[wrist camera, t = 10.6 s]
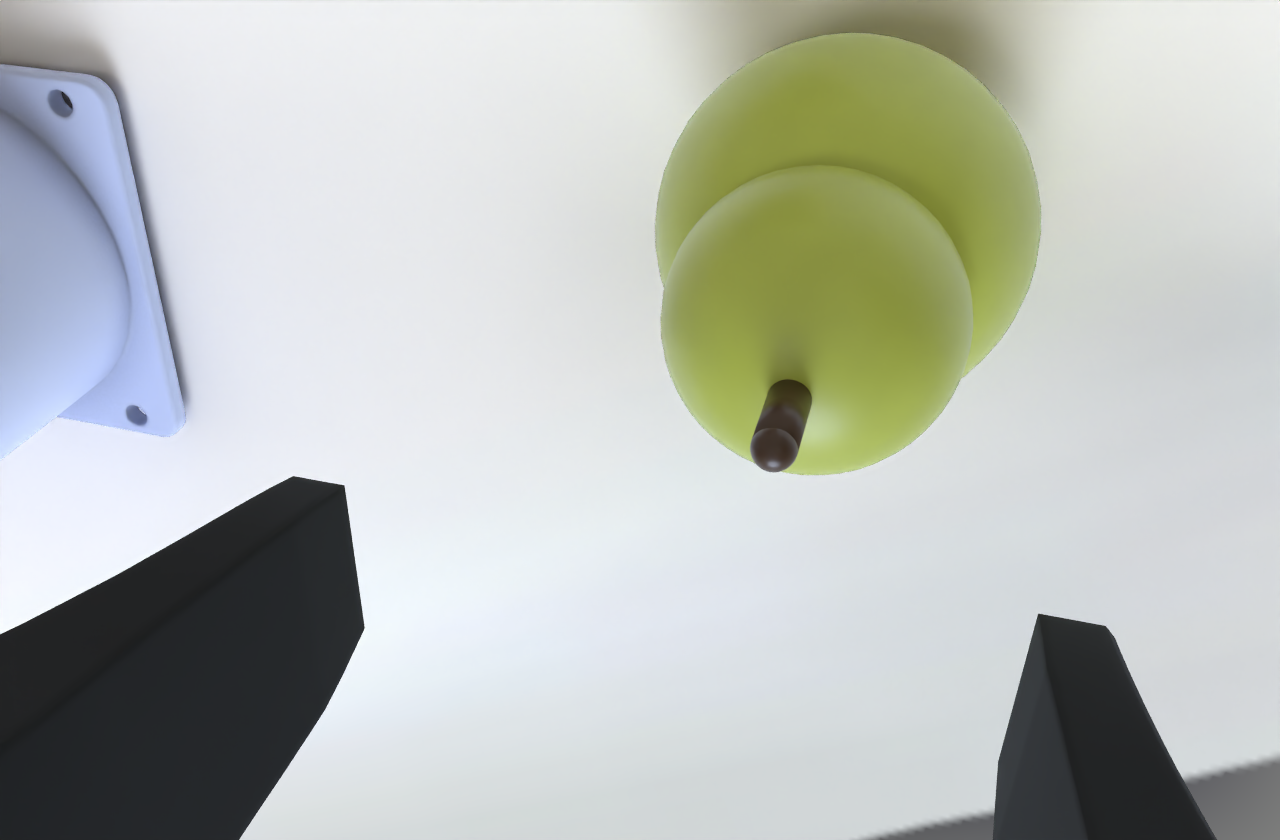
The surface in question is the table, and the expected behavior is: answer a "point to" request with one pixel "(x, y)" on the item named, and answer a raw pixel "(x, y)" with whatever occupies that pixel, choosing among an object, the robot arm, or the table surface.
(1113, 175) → the table surface
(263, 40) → the table surface
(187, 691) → the robot arm
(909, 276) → the pear
